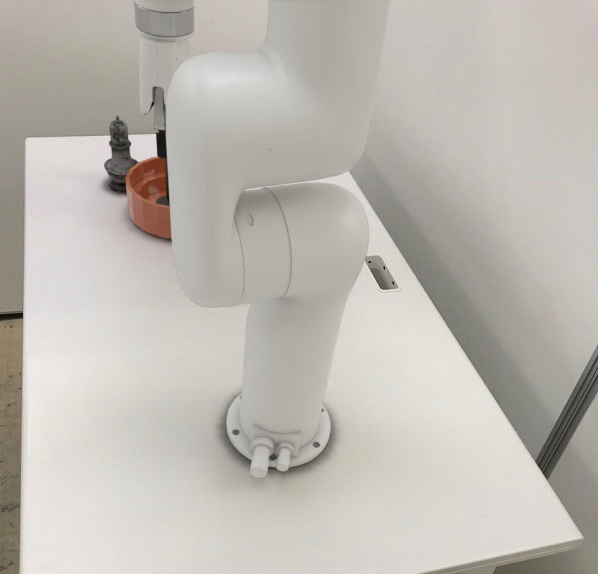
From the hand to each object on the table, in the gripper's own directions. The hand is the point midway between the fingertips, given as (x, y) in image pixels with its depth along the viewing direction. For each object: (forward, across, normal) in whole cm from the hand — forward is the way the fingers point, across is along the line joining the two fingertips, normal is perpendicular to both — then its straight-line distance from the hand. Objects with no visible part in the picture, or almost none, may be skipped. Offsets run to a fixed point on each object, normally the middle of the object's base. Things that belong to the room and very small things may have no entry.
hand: (170, 153), depth 96 cm
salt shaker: (+12, -8, -10) cm, 18 cm away
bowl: (+12, -2, 0) cm, 12 cm away
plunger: (+10, 0, 0) cm, 10 cm away
